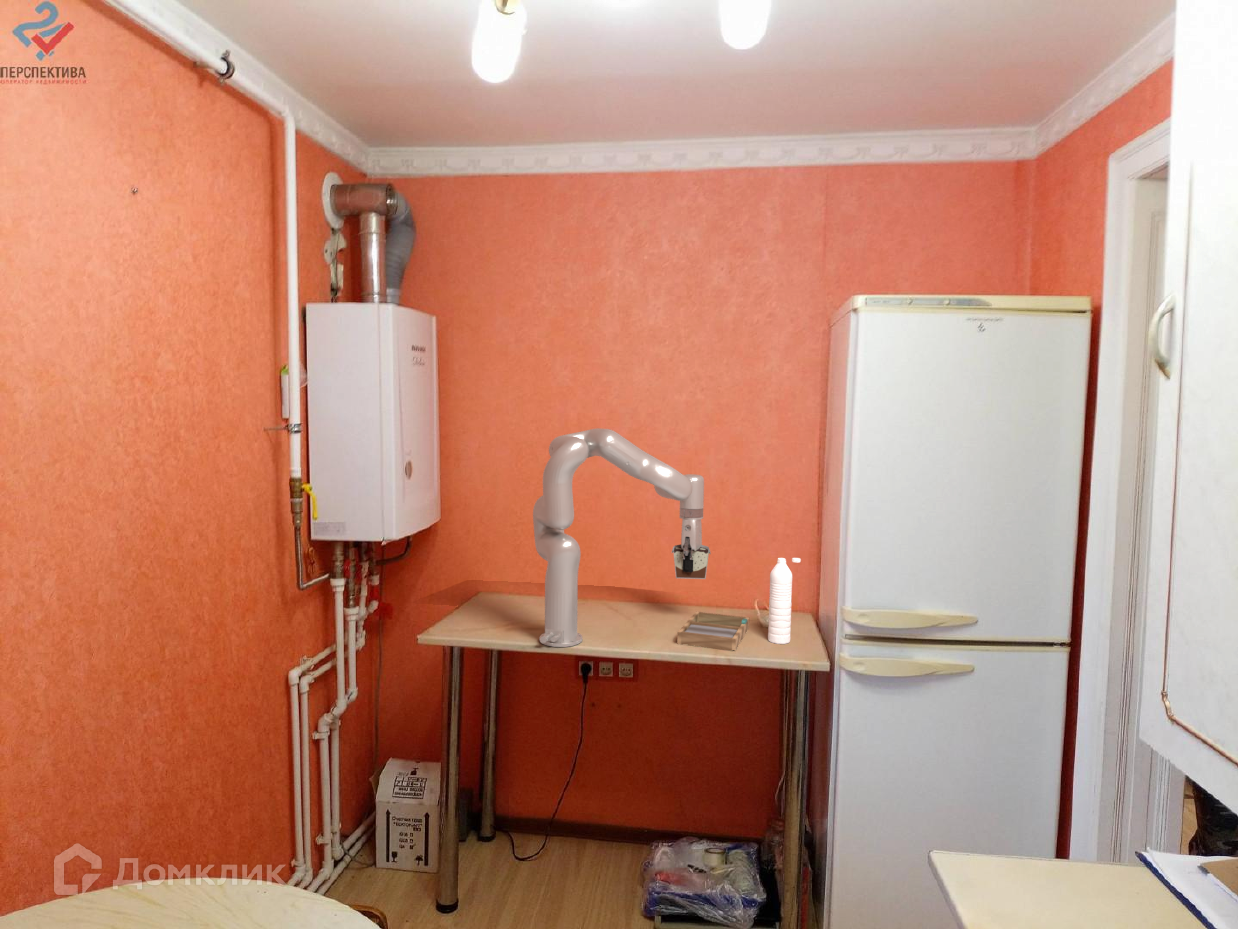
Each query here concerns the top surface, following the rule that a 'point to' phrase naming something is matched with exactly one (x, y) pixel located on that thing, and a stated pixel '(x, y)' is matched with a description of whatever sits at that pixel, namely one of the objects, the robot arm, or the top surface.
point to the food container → (698, 562)
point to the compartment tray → (714, 631)
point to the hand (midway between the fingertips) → (690, 569)
